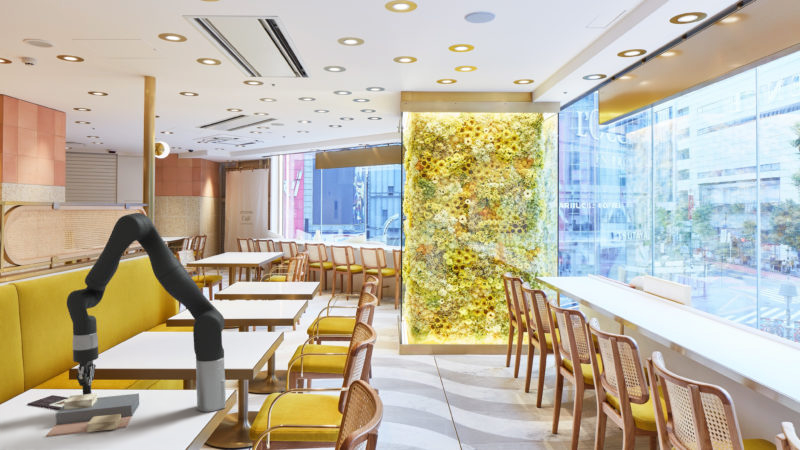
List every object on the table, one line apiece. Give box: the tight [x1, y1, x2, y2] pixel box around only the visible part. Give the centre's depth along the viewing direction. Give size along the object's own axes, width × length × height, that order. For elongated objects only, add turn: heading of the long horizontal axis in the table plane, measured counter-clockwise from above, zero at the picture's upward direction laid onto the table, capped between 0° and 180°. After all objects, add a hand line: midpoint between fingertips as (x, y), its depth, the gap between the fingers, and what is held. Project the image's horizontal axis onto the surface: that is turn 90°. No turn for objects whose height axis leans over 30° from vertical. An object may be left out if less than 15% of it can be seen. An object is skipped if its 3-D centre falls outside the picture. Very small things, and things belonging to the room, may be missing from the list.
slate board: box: [55, 393, 140, 425], centre depth 174 cm, size 22×12×4 cm, turn 106°
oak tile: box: [86, 414, 121, 433], centre depth 163 cm, size 8×6×2 cm
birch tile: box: [64, 392, 98, 410], centre depth 173 cm, size 8×6×2 cm
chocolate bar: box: [27, 394, 69, 411], centre depth 186 cm, size 9×1×18 cm
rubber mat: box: [45, 416, 132, 438], centre depth 164 cm, size 22×8×1 cm, turn 106°
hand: (87, 395), depth 179 cm, fingers closed
